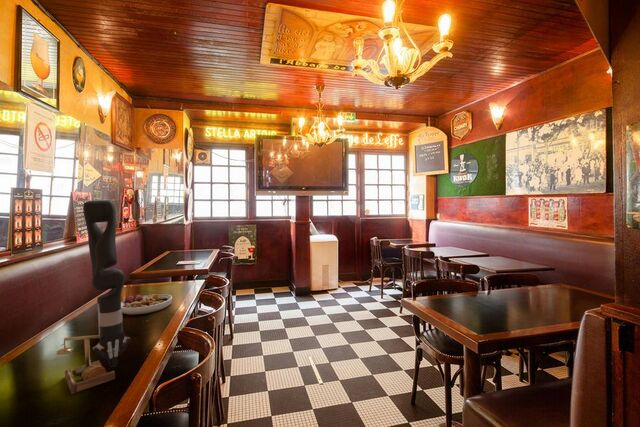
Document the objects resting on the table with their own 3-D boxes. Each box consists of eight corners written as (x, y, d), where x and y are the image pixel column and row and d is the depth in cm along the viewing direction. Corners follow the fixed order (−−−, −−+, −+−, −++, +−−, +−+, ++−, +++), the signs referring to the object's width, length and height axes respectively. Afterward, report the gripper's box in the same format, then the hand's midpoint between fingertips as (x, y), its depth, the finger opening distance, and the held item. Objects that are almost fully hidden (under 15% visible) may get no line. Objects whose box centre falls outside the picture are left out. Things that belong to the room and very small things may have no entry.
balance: (58, 381, 117) (56, 342, 116) (57, 375, 121) (54, 338, 121) (117, 362, 130) (115, 327, 129) (114, 358, 134) (112, 324, 134)
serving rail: (65, 377, 120) (64, 369, 119) (105, 364, 128) (105, 356, 128) (71, 393, 108) (71, 384, 108) (115, 378, 117) (114, 370, 117)
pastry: (112, 376, 119) (112, 366, 119) (92, 385, 113) (92, 375, 113) (98, 371, 124) (98, 361, 124) (79, 380, 118) (78, 369, 118)
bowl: (181, 301, 216) (181, 289, 216) (151, 317, 186) (150, 303, 186) (142, 300, 221) (141, 289, 221) (106, 315, 191) (105, 302, 191)
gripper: (128, 315, 131) (130, 357, 131) (88, 324, 121) (91, 369, 122) (133, 319, 125) (135, 363, 126) (92, 329, 116) (94, 376, 116)
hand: (113, 366), depth 124 cm, fingers closed
